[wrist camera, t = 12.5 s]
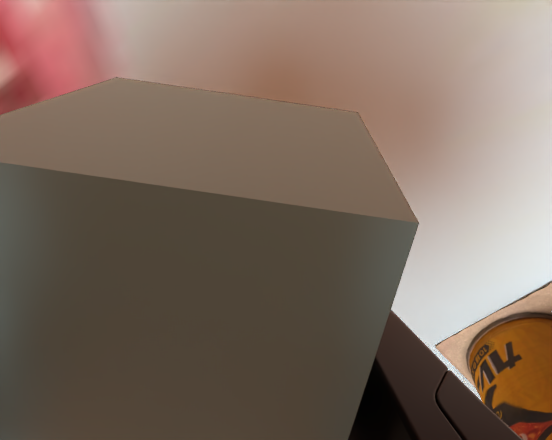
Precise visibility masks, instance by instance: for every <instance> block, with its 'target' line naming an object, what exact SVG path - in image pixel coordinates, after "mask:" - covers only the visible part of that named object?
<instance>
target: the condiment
mask: <svg viewBox="0 0 552 440" xmlns="http://www.w3.org/2000/svg"><path fill="white" fill-rule="evenodd" d="M551 311H552V283H550V284H549V285H548V286H547V287H545V288H543V289H541V290H538V291H536V292H534V293H532V294H530V295H529V296H528V297H526V298H524V299H522V300H519V301H517V302H516V303H514V304H512V305H510V306H508V307H505V308H503V309H501V310H499V311H497V312H495V313H493V314H491V315H490V316H488V317H486V318H485V319H483V320H481V321H479V322H477V323H475V324H474V325H472V326H470V327H468V328H466V329H464V330H462V331H460V332H459V333H458V334H456V335H454V336H451V337H450V338H448V339H446V340H445V341H443V342H441V343H440V344H439V345H438V346H437V347H435V348H436V349H438V350H439V351H440V353H441V354H442V355H443V356H444V357H445V358H446V359H448V360H449V362H450V363H451V364H452V365H454V366H455V367H456V368H457V369H458V370H459V371H460V373H461V374H462V375H464V376H465V377H466V378H467V380H468V381H469V382H470V383H471V384H472V385H473V386H474V387H475V388H476V389H477V392H478V393H479V395H480V397H481V400H482V402H483V403H484V404H485V405H486V406H487V407H488V408H489V409H490V410H491V411H492V412H493V413H494V414H496V415H497V416H498V417H499V418H500V419H501V420H502V421H503V422H504V423H505V424H507V425H508V426H509V427H510V428H511V429H512V430H513V431H514V432H515V433H516V434H518V435H519V436H520V437H521V438H522V439H523V440H552V312H551Z"/></svg>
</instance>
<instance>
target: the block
mask: <svg viewBox="0 0 552 440" xmlns="http://www.w3.org/2000/svg"><path fill="white" fill-rule="evenodd" d="M418 224H419V222H418V220H417V219H416V217H415V215H414V213H413V211H412V210H411V208H410V206H409V204H408V202H407V201H406V199H405V197H404V195H403V193H402V192H401V190H400V188H399V186H398V184H397V183H396V181H395V179H394V177H393V175H392V173H391V172H390V170H389V168H388V166H387V164H386V163H385V161H384V159H383V157H382V155H381V154H380V152H379V150H378V148H377V146H376V145H375V143H374V141H373V139H372V137H371V135H370V134H369V132H368V130H367V128H366V126H365V125H364V123H363V121H362V119H361V117H360V116H359V114H358V112H351V111H344V110H337V109H331V108H324V107H317V106H310V105H303V104H296V103H289V102H282V101H276V100H269V99H262V98H255V97H248V96H241V95H234V94H228V93H221V92H214V91H207V90H200V89H193V88H186V87H179V86H173V85H166V84H159V83H152V82H145V81H138V80H131V79H125V78H118V77H116V78H113V79H110V80H107V81H104V82H101V83H98V84H95V85H92V86H88V87H85V88H82V89H79V90H76V91H73V92H70V93H67V94H64V95H61V96H58V97H55V98H51V99H48V100H45V101H42V102H39V103H36V104H33V105H30V106H27V107H24V108H21V109H18V110H14V111H11V112H8V113H5V114H2V115H0V440H348V438H349V435H350V432H351V429H352V426H353V423H354V420H355V417H356V414H357V411H358V407H359V404H360V401H361V398H362V395H363V392H364V389H365V386H366V383H367V380H368V377H369V374H370V371H371V368H372V365H373V362H374V359H375V356H376V352H377V349H378V346H379V343H380V340H381V337H382V334H383V331H384V328H385V325H386V322H387V319H388V316H389V313H390V310H391V307H392V304H393V301H394V298H395V294H396V291H397V288H398V285H399V282H400V279H401V276H402V273H403V270H404V267H405V264H406V261H407V258H408V255H409V252H410V249H411V246H412V243H413V240H414V236H415V233H416V230H417V227H418Z"/></svg>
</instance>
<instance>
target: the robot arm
mask: <svg viewBox="0 0 552 440" xmlns="http://www.w3.org/2000/svg"><path fill="white" fill-rule="evenodd" d="M348 440H523V439H522V438H521V437H520V436H519V435H518V434H516V433H515V432H514V431H513V430H512V429H511V428H510V427H509V426H508V425H507V424H505V423H504V422H503V421H502V420H501V419H500V418H499V417H498V416H497V415H496V414H494V413H493V412H492V411H491V410H490V409H489V408H488V407H487V406H486V405H485V404H484V403H483V402H482V401H481V400H480V399H479V398H478V397H477V396H476V395H475V394H474V393H473V392H471V391H470V390H469V389H468V388H467V387H466V386H465V385H464V384H463V383H462V382H461V381H460V380H459V379H458V377H457V376H456V375H455V374H454V373H453V372H452V371H450V370H448V368H447V366H446V365H445V364H444V363H443V362H442V361H441V360H440V359H439V358H438V357H437V356H436V355H435V354H434V353H433V352H432V351H431V350H430V349H429V348H428V347H427V346H426V345H425V344H424V343H423V342H422V341H421V340H420V339H419V338H418V337H417V336H416V335H415V334H414V333H413V332H412V331H411V330H410V329H409V328H408V327H407V326H406V325H405V323H404V322H403V321H402V320H401V319H400V318H399V317H398V316H397V315H396V314H395V313H394V312H393V311H392V310H390V313H389V316H388V319H387V322H386V325H385V328H384V331H383V334H382V337H381V340H380V343H379V346H378V349H377V352H376V356H375V359H374V362H373V365H372V368H371V371H370V374H369V377H368V380H367V383H366V386H365V389H364V392H363V395H362V398H361V401H360V404H359V407H358V411H357V414H356V417H355V420H354V423H353V426H352V429H351V432H350V435H349V438H348Z"/></svg>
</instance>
